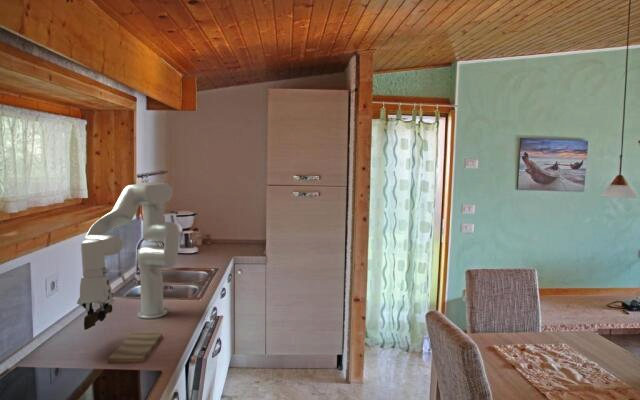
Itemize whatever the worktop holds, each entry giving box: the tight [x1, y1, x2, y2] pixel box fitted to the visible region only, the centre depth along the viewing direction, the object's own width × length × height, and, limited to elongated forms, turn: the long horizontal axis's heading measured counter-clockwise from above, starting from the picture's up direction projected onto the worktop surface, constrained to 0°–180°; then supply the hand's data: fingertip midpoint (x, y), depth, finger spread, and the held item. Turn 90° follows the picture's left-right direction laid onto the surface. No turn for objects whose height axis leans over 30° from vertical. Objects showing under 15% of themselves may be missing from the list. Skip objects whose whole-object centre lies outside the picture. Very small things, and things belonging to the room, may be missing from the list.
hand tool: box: [83, 304, 113, 331], centre depth 178 cm, size 19×4×5 cm, turn 178°
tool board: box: [107, 332, 163, 364], centre depth 176 cm, size 24×12×2 cm, turn 3°
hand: (96, 319), depth 179 cm, fingers closed on hand tool, 3 cm apart
